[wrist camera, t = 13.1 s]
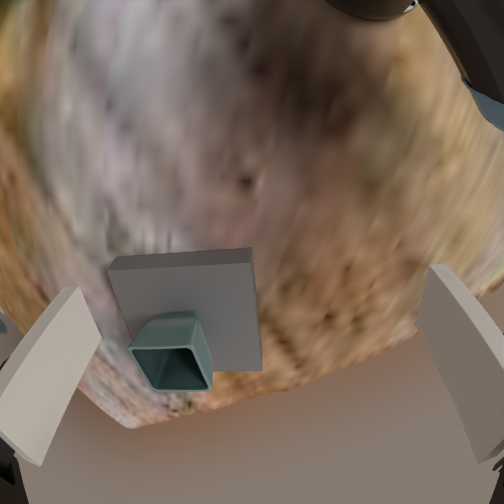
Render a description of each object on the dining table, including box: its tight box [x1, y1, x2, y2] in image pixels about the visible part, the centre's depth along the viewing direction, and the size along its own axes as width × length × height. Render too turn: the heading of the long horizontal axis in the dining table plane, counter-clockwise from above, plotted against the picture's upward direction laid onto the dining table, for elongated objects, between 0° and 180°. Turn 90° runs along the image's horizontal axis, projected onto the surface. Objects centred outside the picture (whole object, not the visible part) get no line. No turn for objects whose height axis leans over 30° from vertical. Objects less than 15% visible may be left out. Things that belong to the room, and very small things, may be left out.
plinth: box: [107, 248, 262, 371], centre depth 45 cm, size 20×20×4 cm
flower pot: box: [128, 312, 213, 392], centre depth 40 cm, size 9×9×9 cm
